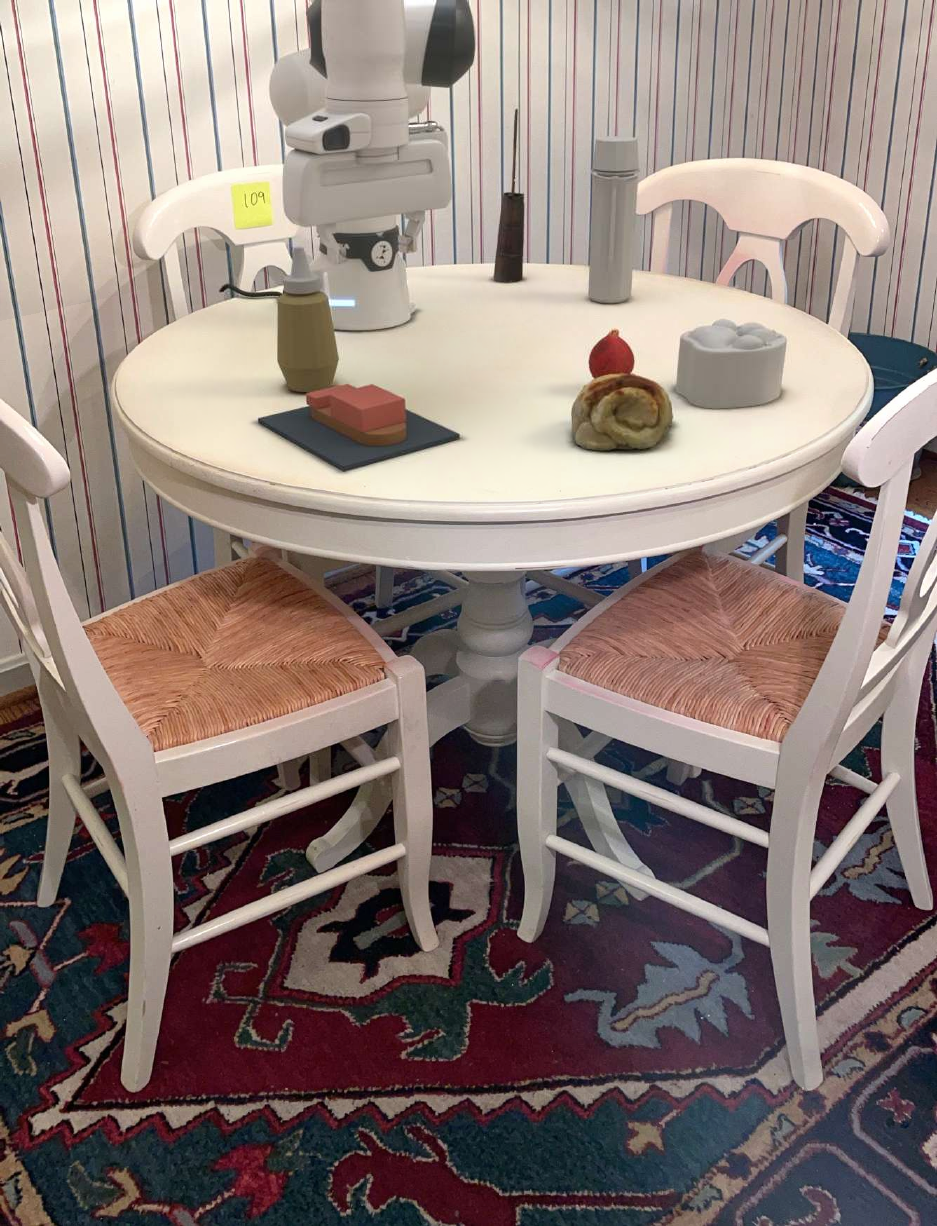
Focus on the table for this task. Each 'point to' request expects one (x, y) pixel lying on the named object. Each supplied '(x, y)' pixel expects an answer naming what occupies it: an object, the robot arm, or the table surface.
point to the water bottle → (613, 218)
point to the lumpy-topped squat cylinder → (730, 365)
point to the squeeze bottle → (305, 330)
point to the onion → (611, 356)
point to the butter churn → (511, 230)
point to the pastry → (621, 413)
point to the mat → (347, 450)
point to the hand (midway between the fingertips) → (373, 257)
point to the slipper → (361, 413)
